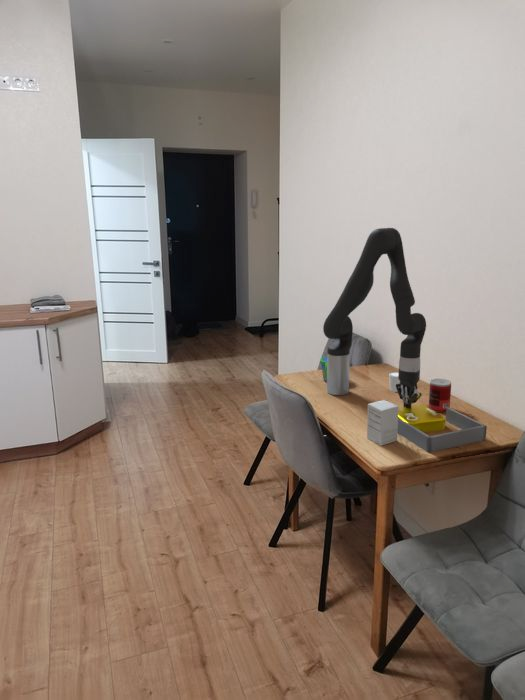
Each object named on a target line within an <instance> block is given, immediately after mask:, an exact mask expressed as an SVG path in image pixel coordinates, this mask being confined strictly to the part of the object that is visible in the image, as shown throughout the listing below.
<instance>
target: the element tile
mask: <svg viewBox="0 0 525 700" xmlns="http://www.w3.org/2000/svg"><path fill="white" fill-rule="evenodd" d="M398 418H400V419H402V420H403V421H405V422H407V423H408V424H410V425H412V426H413V427H415V428H417V429H418V430H420V431H422V432H423V433H428V432H437V431H444V430H445V429H446V416H445V417H444V416H443V415H441V414H440V412H436V411H434V410H433V409H431V408H430V407H429V405H426V404H421V405H411V408H410V407H409V408H406V407H403V406H402V407H401V406H400V407H398Z"/></svg>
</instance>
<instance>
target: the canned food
mask: <svg viewBox="0 0 525 700" xmlns="http://www.w3.org/2000/svg"><path fill="white" fill-rule="evenodd" d="M451 391H452V381H450V380H449V379H445V378H433V379H431V380H430V381H429V393H428V395H429V396H428V397H429V398H428V407H430V408H431V409H433V410H434V411H436V412H437V413H446V409H447V408H448V407H449V408H451V394H452V392H451Z"/></svg>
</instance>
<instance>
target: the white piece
mask: <svg viewBox="0 0 525 700" xmlns="http://www.w3.org/2000/svg"><path fill="white" fill-rule="evenodd" d="M398 374H399V371H396V372H395V371H393V372H389V374H388V378H389V379H388V382H389V390H390V391H391V392H393V393H398V391H397V388H396V384H399V383H400V380H399V379H398Z"/></svg>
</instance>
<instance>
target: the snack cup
mask: <svg viewBox="0 0 525 700" xmlns="http://www.w3.org/2000/svg"><path fill="white" fill-rule="evenodd" d="M319 363H320V364H321V371H322V373H321V374H322V379H323V381H324V382H326V383H327V356H322V357H321V358H320V360H319Z"/></svg>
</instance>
